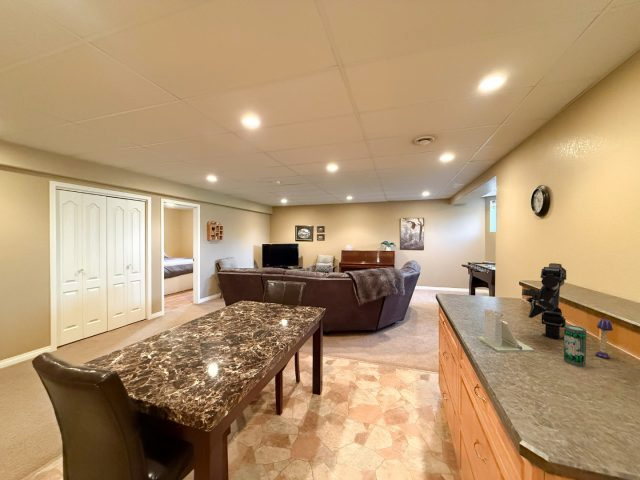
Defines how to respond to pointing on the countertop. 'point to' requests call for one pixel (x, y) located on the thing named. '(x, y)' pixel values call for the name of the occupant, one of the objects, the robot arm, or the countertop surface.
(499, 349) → the pale green base plate
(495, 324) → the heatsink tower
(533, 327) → the countertop surface
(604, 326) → the toy lamp
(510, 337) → the hinged cream panel
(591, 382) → the countertop surface
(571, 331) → the can
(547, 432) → the countertop surface
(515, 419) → the countertop surface
